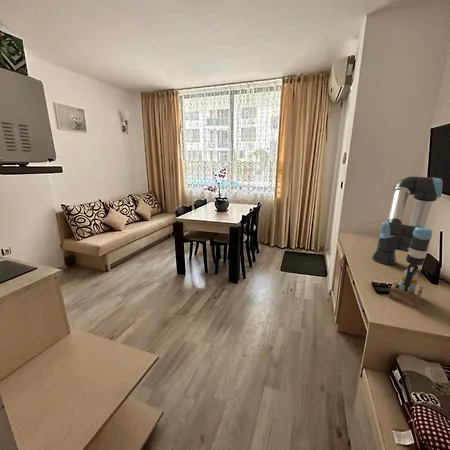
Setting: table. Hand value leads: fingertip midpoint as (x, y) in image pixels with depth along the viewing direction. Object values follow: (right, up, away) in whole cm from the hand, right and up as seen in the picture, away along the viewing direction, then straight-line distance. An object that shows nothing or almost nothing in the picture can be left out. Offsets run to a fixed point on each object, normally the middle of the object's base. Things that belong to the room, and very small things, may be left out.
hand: (406, 291), depth 137 cm
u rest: (-2, -3, -1) cm, 3 cm away
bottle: (-1, -3, 0) cm, 3 cm away
